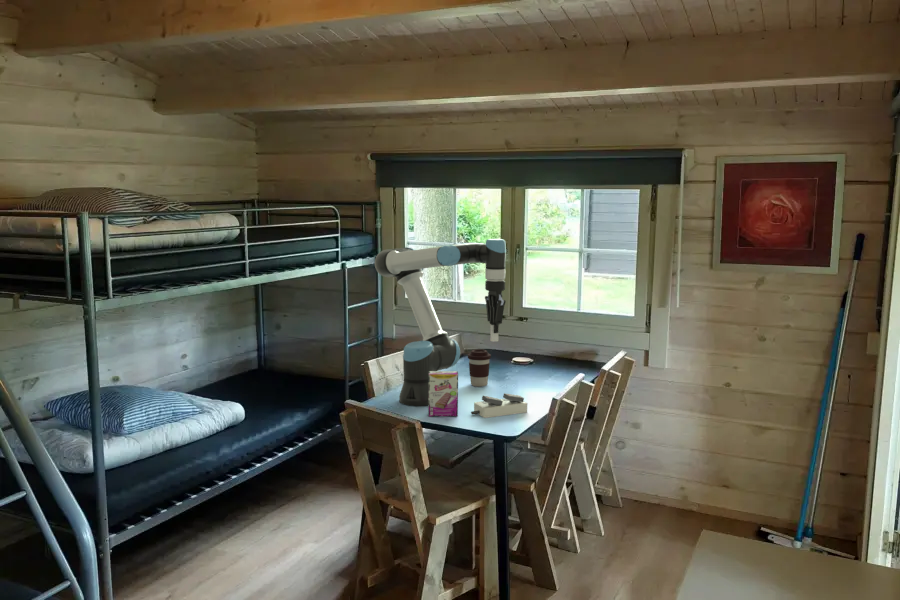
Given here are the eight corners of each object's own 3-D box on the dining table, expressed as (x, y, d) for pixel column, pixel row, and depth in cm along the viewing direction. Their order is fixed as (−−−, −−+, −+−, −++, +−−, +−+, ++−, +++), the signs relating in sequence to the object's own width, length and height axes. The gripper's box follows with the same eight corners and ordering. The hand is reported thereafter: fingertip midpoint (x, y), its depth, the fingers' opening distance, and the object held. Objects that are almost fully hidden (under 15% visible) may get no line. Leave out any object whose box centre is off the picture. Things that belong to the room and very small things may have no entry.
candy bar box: (428, 417, 271) (428, 374, 269) (428, 413, 276) (428, 370, 274) (458, 416, 272) (458, 373, 269) (457, 412, 277) (457, 370, 274)
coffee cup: (488, 388, 311) (489, 353, 309) (465, 387, 313) (465, 352, 311) (492, 382, 321) (492, 348, 318) (469, 381, 323) (469, 348, 320)
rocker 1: (485, 402, 270) (487, 397, 270) (481, 399, 274) (482, 394, 274) (501, 405, 273) (502, 400, 273) (497, 402, 277) (498, 398, 277)
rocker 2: (507, 399, 274) (508, 395, 274) (502, 397, 277) (504, 392, 277) (523, 402, 277) (524, 397, 277) (518, 399, 280) (519, 395, 280)
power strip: (477, 419, 269) (477, 407, 268) (466, 412, 277) (466, 401, 276) (527, 412, 277) (527, 401, 276) (515, 405, 285) (516, 395, 285)
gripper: (512, 281, 272) (511, 343, 276) (496, 277, 284) (495, 337, 288) (494, 282, 269) (493, 345, 273) (478, 278, 281) (478, 338, 285)
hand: (494, 340), depth 280 cm, fingers closed
